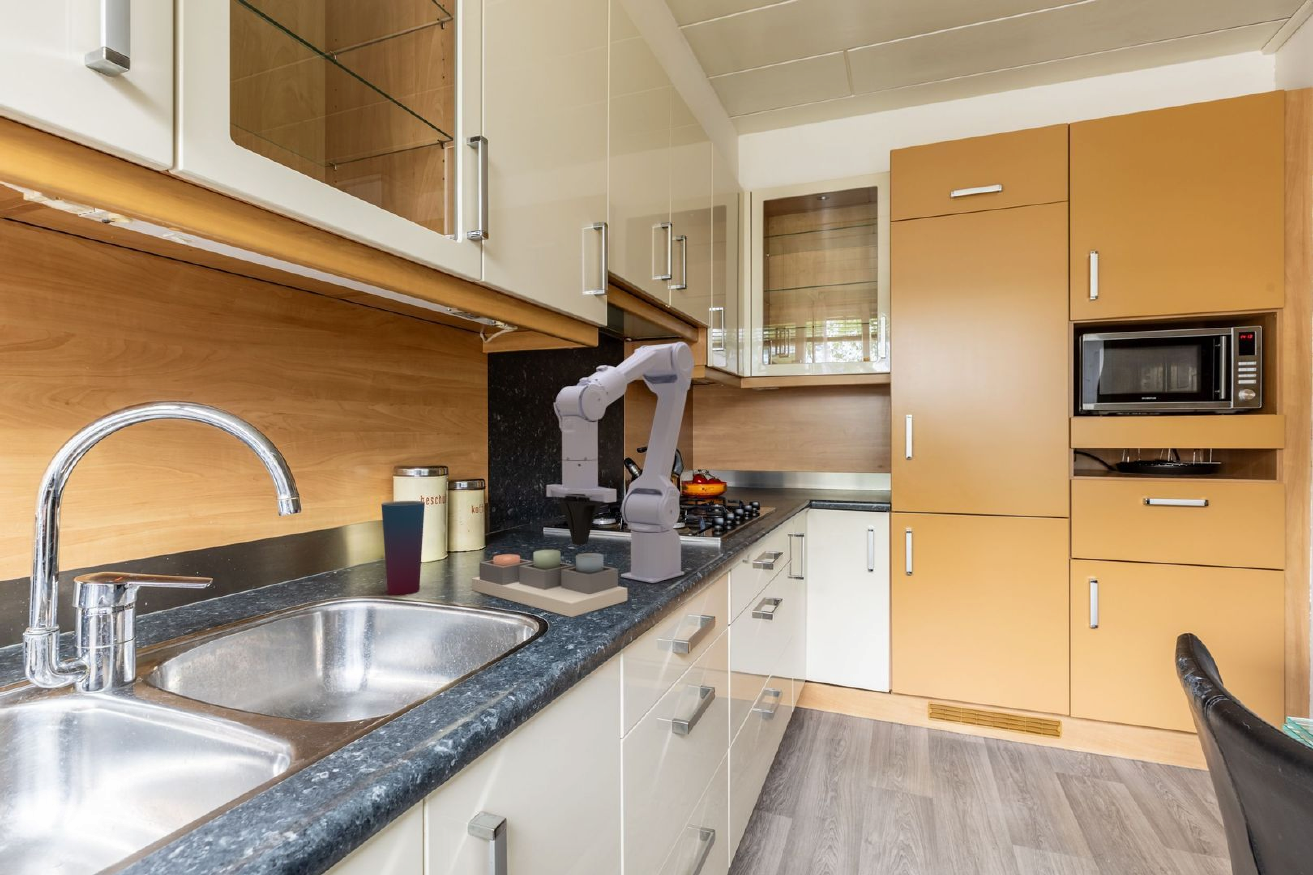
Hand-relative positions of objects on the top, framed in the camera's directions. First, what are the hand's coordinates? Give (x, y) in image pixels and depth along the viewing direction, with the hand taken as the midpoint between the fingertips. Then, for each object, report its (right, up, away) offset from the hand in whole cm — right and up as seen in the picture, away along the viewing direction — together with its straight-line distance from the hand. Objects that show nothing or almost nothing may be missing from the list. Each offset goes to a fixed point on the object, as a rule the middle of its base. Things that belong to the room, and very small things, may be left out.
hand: (580, 543), depth 104 cm
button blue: (+2, -4, -1) cm, 5 cm away
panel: (-6, -9, +2) cm, 11 cm away
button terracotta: (-13, -5, +5) cm, 15 cm away
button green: (-6, -4, +2) cm, 7 cm away
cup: (-31, -9, +5) cm, 32 cm away
